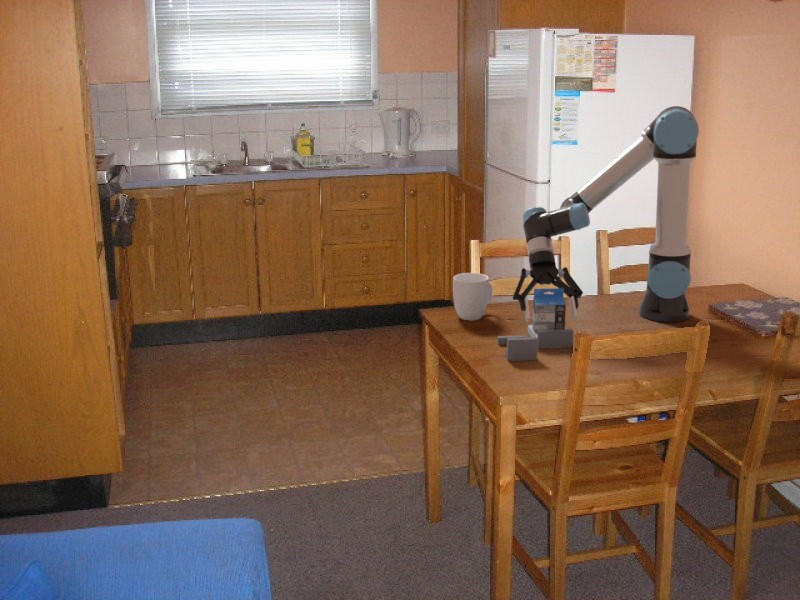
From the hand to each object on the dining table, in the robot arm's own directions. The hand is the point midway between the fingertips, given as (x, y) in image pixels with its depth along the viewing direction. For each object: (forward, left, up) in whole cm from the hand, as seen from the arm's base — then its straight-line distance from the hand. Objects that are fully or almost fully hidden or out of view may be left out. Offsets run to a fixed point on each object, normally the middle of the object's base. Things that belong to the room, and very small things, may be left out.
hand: (551, 319), depth 259 cm
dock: (0, -2, -7) cm, 7 cm away
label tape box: (0, -2, -4) cm, 5 cm away
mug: (+19, -25, -7) cm, 32 cm away
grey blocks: (+12, +7, -7) cm, 15 cm away
